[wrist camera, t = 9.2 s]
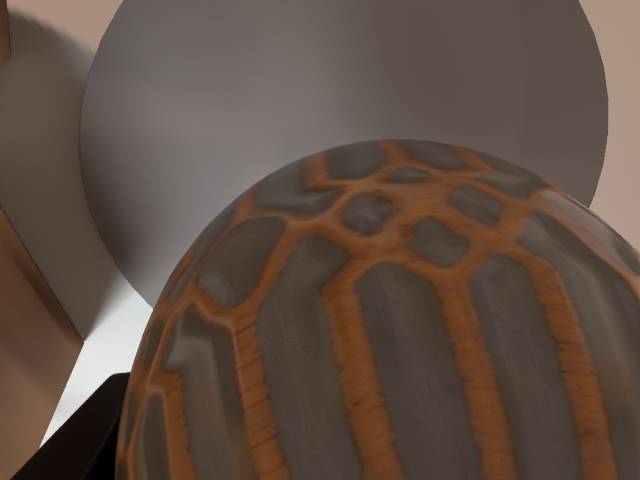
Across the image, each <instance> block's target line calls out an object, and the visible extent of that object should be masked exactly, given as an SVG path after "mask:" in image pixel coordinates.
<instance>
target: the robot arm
mask: <svg viewBox="0 0 640 480" xmlns="http://www.w3.org/2000/svg"><path fill="white" fill-rule="evenodd" d="M130 373H131V372H126V373H116V374H113V375H111V376H110V377H109V378H108V379H107V380H106V381H105V382H104V383H103V384H102V385H101V386H100V387H99V388H98V389H97V390H96V391H95V392H94V393H93V394H92V395H91V396H90V397H89V398H88V399H87V400H86V401H85V402H84V403H83V404H82V405H81V406H80V407H79V408H78V409H77V410H76V411H75V413H74V414H73V415H72V416H71V417H70V418H69V419H68V420H67V421H66V422H65V423H64V424H63V425H62V426H61V427H60V428H59V429H58V430H57V431H56V432H55V433H54V434H53V435H52V436H51V437H50V438H49V439H48V440H47V441H46V442H45V443H44V444H43V445H42V446H41V448H40V449H39V450H38V451H37V452H36V453H35V454H34V455H33V456H32V457H31V458H30V459H29V460H28V461H27V462H26V463H25V464H24V465H23V466H22V467H21V468H20V469H19V470H18V471H17V472H16V473H15V474H14V475H13V476H12V477H11V478H10V479H9V480H115V458H116V448H117V438H118V428H119V421H120V416H121V410H122V405H123V401H124V397H125V393H126V389H127V384H128V380H129V376H130Z"/></svg>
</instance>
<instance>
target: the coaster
mask: <svg viewBox="0 0 640 480" xmlns="http://www.w3.org/2000/svg"><path fill="white" fill-rule="evenodd" d="M607 135H608V95H607V88H606V80H605V73H604V67H603V63H602V59H601V56H600V53H599V49H598V46H597V42H596V39H595V36H594V33H593V30H592V28H591V26H590V24H589V22H588V20H587V18H586V16H585V14H584V11H583V9H582V7H581V5H580V3H579V1H578V0H124V1H123V2H122V4H121V5H120V7H119V9H118V10H117V12H116V14H115V16H114V18H113V19H112V21H111V23H110V25H109V27H108V28H107V30H106V32H105V34H104V35H103V37H102V39H101V42H100V45H99V47H98V50H97V53H96V55H95V58H94V61H93V63H92V66H91V69H90V71H89V74H88V79H87V83H86V88H85V93H84V98H83V102H82V107H81V118H80V135H79V150H80V161H81V172H82V180H83V184H84V188H85V192H86V197H87V201H88V205H89V209H90V211H91V214H92V217H93V219H94V222H95V224H96V227H97V229H98V232H99V235H100V237H101V239H102V241H103V243H104V244H105V246H106V248H107V250H108V252H109V253H110V255H111V257H112V259H113V261H114V262H115V264H116V265H117V267H118V268H119V269H120V271H121V272H122V273H123V275H124V276H125V278H126V279H127V280H128V282H129V283H130V284H131V286H132V287H133V288H134V289H135V290H136V291H137V292H138V293H139V294H140V295H141V296H142V298H143V299H144V300H145V301H146V302H147V303H148V304H149V305H150V306H151V307H152V308H153V309H154V307H155V305H156V303H157V301H158V298H159V296H160V294H161V292H162V290H163V288H164V286H165V284H166V282H167V280H168V279H169V277H170V275H171V273H172V272H173V270H174V269H175V267H176V266H177V264H178V263H179V261H180V260H181V258H182V257H183V256H184V254H185V253H186V252H187V250H188V249H189V248H190V246H191V245H192V244H193V242H194V241H195V240H196V239H197V237H198V236H199V235H200V234H201V232H202V231H203V230H204V229H205V228H206V227H207V225H208V224H209V223H210V222H211V221H212V220H213V219H214V218H215V217H216V216H217V215H218V214H219V213H220V212H222V211H223V210H224V209H225V208H226V207H227V206H228V205H229V204H230V203H232V202H233V201H234V200H235V199H236V198H237V197H238V196H240V195H241V194H242V193H243V192H245V191H246V190H247V189H249V188H250V187H251V186H252V185H254V184H255V183H257V182H258V181H260V180H261V179H263V178H264V177H266V176H268V175H269V174H271V173H273V172H275V171H276V170H278V169H280V168H282V167H284V166H286V165H288V164H290V163H292V162H295V161H297V160H299V159H301V158H303V157H306V156H309V155H312V154H315V153H317V152H320V151H323V150H327V149H331V148H334V147H338V146H342V145H347V144H352V143H357V142H364V141H372V140H384V139H416V140H426V141H434V142H440V143H445V144H451V145H456V146H460V147H465V148H469V149H473V150H477V151H480V152H484V153H487V154H490V155H492V156H495V157H498V158H501V159H503V160H506V161H508V162H510V163H512V164H515V165H517V166H519V167H522V168H524V169H526V170H528V171H530V172H532V173H535V174H537V175H539V176H541V177H543V178H544V179H546V180H548V181H549V182H551V183H553V184H555V185H556V186H558V187H559V188H561V189H562V190H563V191H565V192H566V193H568V194H569V195H570V196H572V197H573V198H575V199H576V200H577V201H579V202H580V203H581V204H583V205H584V206H586V207H587V208H588V209H589V206H590V204H591V202H592V199H593V197H594V194H595V191H596V188H597V184H598V181H599V177H600V173H601V170H602V167H603V162H604V155H605V149H606V142H607Z"/></svg>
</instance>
